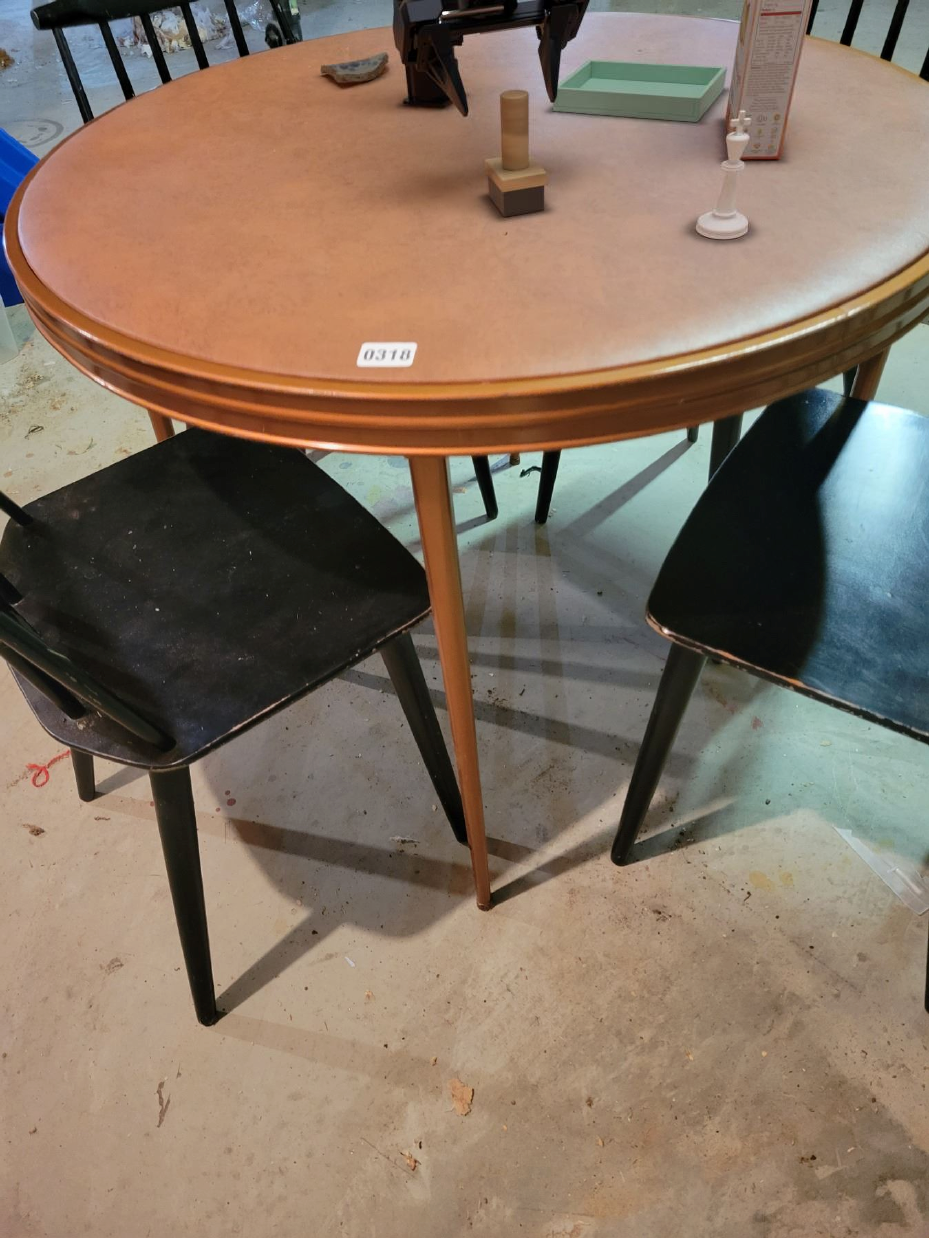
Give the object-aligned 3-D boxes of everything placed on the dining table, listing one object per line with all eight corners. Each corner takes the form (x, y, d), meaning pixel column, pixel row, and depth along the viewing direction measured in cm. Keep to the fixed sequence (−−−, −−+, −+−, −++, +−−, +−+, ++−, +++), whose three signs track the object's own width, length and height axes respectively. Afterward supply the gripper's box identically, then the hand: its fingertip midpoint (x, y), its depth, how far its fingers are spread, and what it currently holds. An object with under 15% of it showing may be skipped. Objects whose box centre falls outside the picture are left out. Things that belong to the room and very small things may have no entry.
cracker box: (721, 120, 96) (758, -110, 80) (772, 119, 95) (820, -114, 79) (724, 161, 87) (766, -89, 71) (780, 161, 86) (835, -93, 70)
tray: (552, 111, 102) (553, 88, 100) (587, 81, 110) (588, 59, 108) (696, 122, 96) (700, 98, 94) (723, 90, 103) (727, 67, 101)
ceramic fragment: (330, 77, 113) (316, 50, 119) (334, 101, 116) (319, 73, 121) (400, 65, 115) (383, 39, 120) (402, 88, 118) (385, 62, 123)
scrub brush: (486, 196, 85) (481, 88, 77) (528, 189, 85) (527, 81, 78) (503, 218, 81) (499, 107, 73) (546, 210, 81) (548, 99, 74)
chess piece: (689, 221, 77) (706, 105, 70) (738, 216, 77) (760, 100, 70) (703, 242, 74) (723, 123, 66) (754, 236, 74) (780, 117, 66)
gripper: (385, -115, 67) (426, 67, 68) (588, -140, 69) (624, 37, 70) (382, -16, 78) (418, 140, 79) (557, -40, 80) (589, 112, 82)
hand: (510, 107), depth 77 cm, fingers open, 9 cm apart
